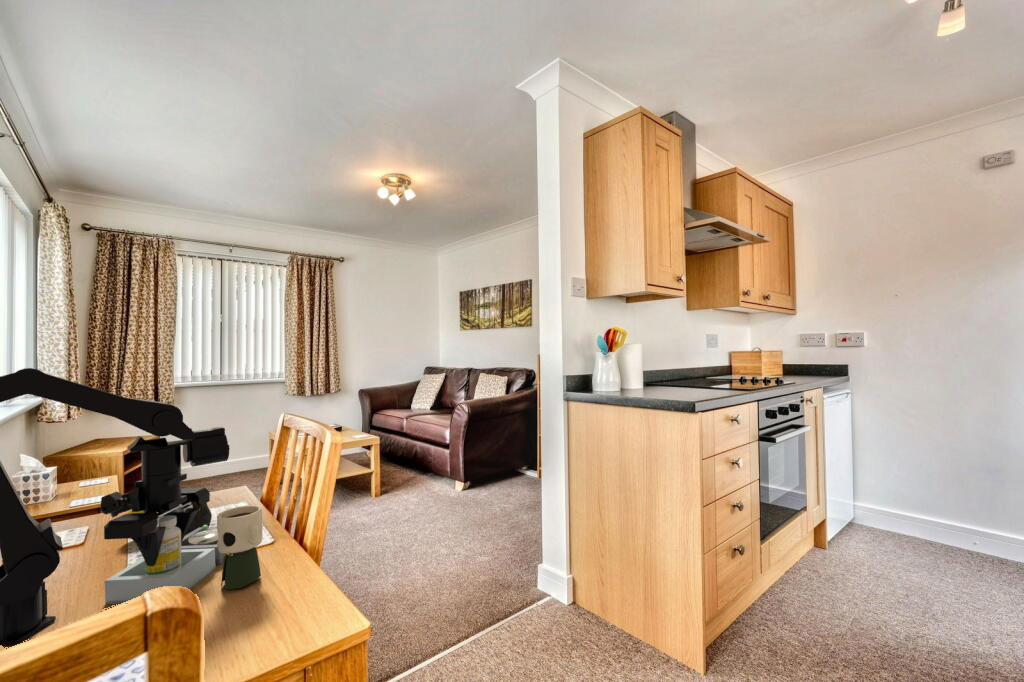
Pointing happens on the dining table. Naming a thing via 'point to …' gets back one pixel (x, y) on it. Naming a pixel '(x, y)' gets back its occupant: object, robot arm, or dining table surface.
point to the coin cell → (204, 538)
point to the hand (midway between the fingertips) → (163, 558)
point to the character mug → (240, 544)
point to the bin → (159, 576)
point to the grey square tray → (218, 556)
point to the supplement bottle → (167, 549)
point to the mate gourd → (200, 517)
